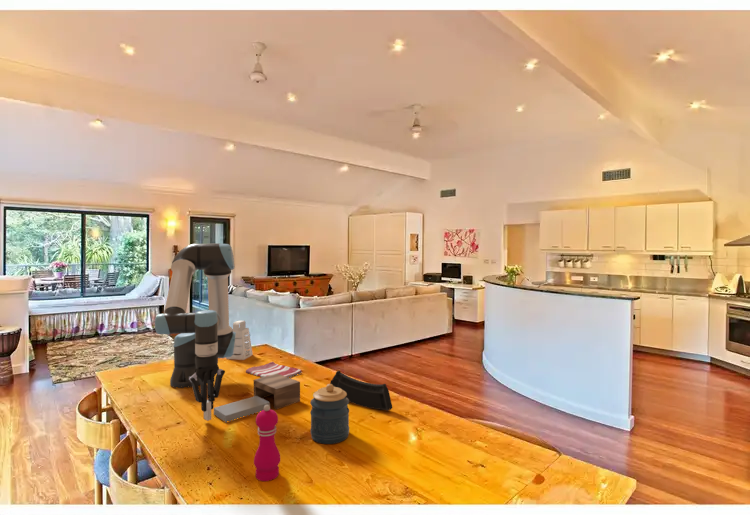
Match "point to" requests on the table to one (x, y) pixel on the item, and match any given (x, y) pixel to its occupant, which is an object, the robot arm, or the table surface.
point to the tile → (240, 408)
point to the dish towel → (273, 370)
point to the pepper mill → (267, 446)
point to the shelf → (278, 389)
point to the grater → (241, 341)
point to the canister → (329, 415)
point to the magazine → (363, 392)
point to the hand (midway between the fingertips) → (207, 419)
